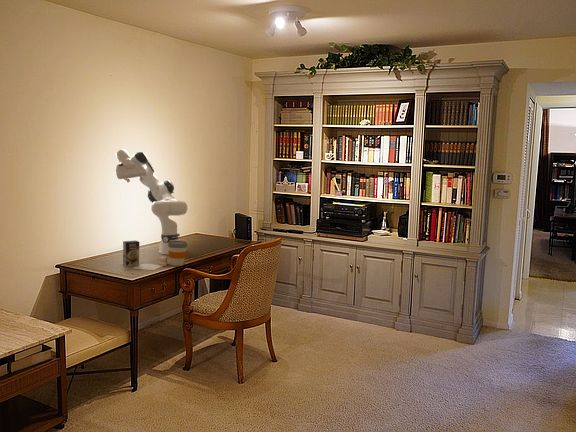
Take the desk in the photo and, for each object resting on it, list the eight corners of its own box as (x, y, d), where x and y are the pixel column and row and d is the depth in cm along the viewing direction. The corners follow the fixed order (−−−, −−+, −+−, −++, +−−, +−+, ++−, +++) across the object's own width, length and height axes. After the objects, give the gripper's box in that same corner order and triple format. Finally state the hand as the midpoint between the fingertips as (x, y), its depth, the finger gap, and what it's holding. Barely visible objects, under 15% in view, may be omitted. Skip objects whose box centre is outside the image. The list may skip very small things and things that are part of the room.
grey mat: (144, 264, 351) (144, 263, 351) (163, 265, 347) (163, 265, 347) (132, 268, 338) (132, 268, 338) (152, 270, 334) (152, 270, 334)
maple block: (160, 263, 354) (160, 256, 353) (167, 263, 354) (167, 256, 353) (158, 265, 349) (158, 258, 348) (165, 265, 349) (165, 258, 348)
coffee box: (126, 267, 341) (125, 242, 338) (122, 265, 346) (122, 241, 344) (139, 265, 346) (139, 241, 344) (136, 263, 351) (136, 240, 349)
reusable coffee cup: (189, 265, 352) (190, 243, 350) (173, 267, 343) (174, 244, 342) (180, 261, 361) (181, 240, 359) (163, 263, 353) (164, 241, 351)
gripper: (141, 168, 376) (149, 181, 369) (113, 171, 364) (120, 185, 357) (143, 162, 371) (150, 175, 365) (114, 165, 360) (121, 179, 353)
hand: (135, 180), depth 361 cm, fingers open, 8 cm apart
